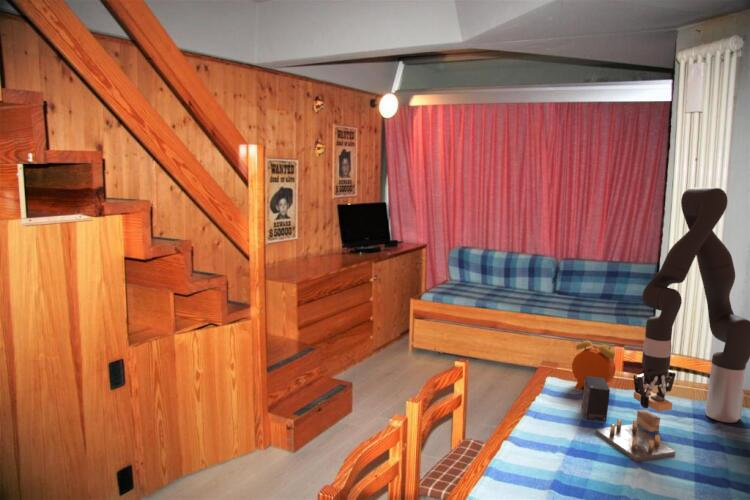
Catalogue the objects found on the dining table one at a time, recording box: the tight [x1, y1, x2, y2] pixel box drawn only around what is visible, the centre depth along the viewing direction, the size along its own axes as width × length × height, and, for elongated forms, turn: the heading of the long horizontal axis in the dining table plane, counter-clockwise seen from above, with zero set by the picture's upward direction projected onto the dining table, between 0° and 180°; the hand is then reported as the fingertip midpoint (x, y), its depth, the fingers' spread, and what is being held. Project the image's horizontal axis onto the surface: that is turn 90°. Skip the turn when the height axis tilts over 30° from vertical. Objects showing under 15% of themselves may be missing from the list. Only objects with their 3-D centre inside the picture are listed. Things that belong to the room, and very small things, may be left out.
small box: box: [581, 376, 611, 422], centre depth 188 cm, size 11×6×10 cm, turn 168°
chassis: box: [594, 419, 676, 462], centre depth 169 cm, size 13×17×4 cm
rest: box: [636, 409, 661, 433], centre depth 181 cm, size 3×6×4 cm, turn 18°
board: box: [633, 389, 673, 412], centre depth 179 cm, size 5×10×3 cm, turn 18°
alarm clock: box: [571, 332, 616, 390], centre depth 207 cm, size 13×6×20 cm, turn 49°
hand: (651, 405), depth 179 cm, fingers closed on board, 5 cm apart
